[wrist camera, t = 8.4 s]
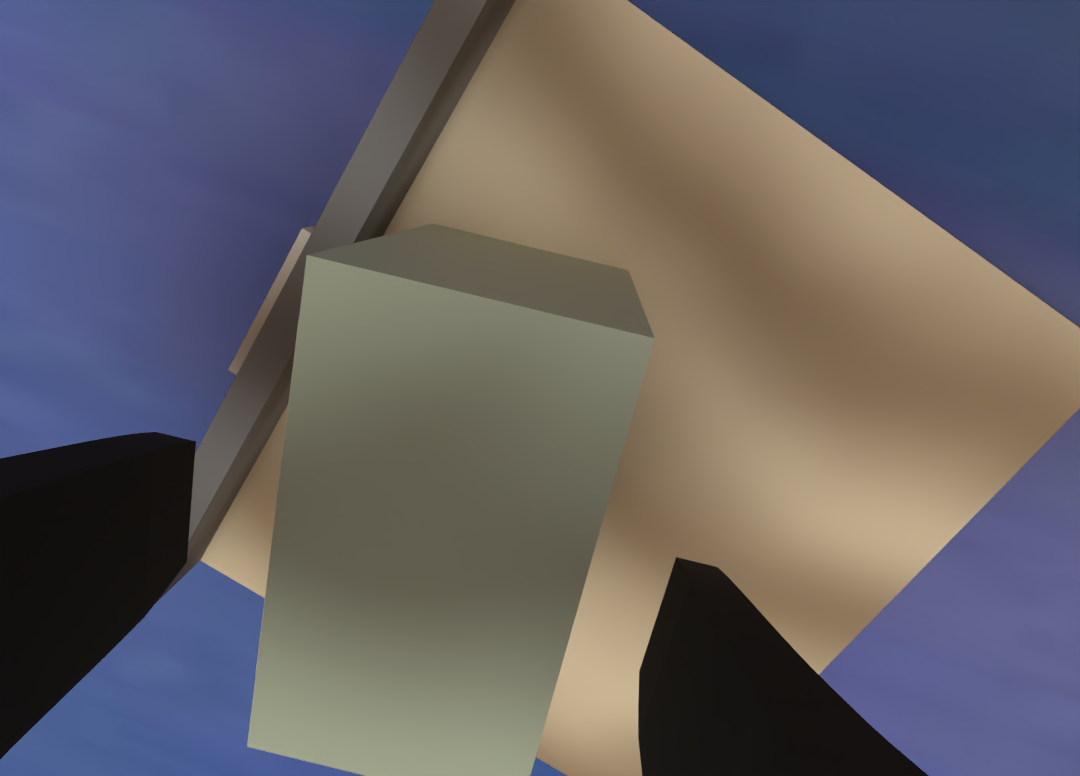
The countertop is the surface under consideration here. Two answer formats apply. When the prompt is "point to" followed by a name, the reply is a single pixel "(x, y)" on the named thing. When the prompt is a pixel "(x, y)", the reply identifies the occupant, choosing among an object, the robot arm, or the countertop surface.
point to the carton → (440, 498)
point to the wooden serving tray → (684, 336)
